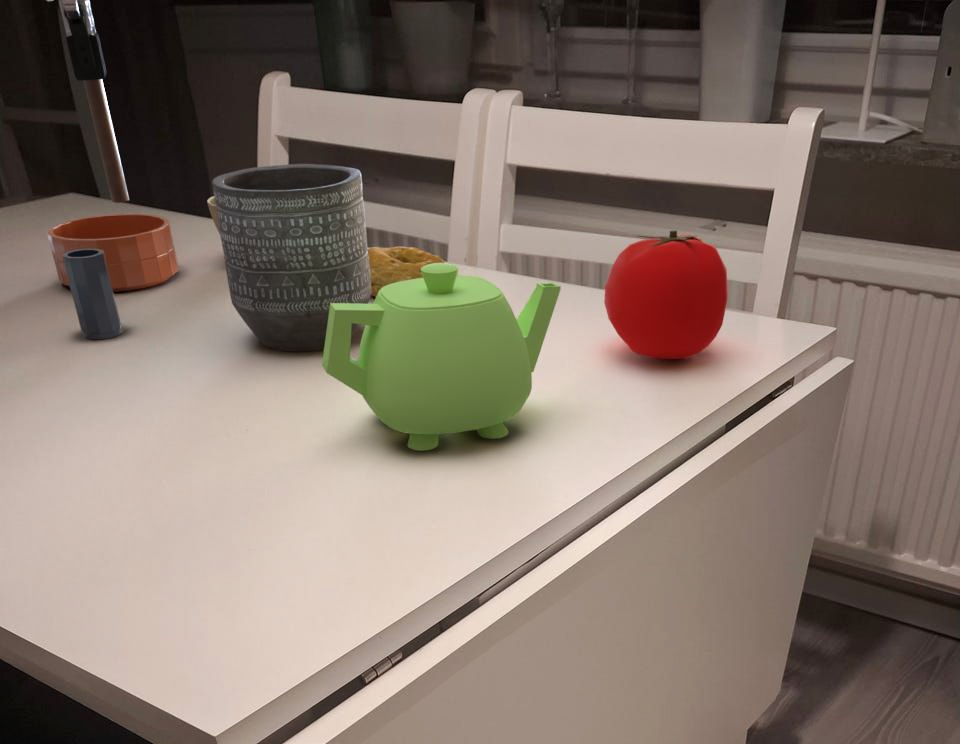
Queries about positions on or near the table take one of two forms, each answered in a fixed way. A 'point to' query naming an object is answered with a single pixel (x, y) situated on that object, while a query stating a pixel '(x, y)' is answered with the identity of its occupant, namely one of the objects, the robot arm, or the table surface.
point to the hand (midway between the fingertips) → (91, 76)
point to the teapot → (441, 353)
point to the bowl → (120, 247)
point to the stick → (106, 140)
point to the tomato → (667, 296)
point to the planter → (293, 248)
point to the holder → (92, 293)
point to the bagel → (397, 265)
